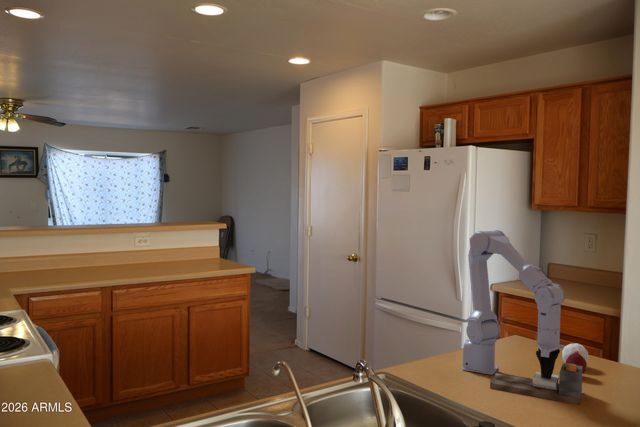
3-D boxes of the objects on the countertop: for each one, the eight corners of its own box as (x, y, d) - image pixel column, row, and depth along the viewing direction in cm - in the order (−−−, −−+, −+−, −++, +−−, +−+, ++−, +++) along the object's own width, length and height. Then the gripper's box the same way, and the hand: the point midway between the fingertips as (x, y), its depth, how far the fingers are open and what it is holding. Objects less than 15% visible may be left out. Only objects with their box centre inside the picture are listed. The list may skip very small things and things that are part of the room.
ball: (575, 377, 171) (569, 360, 167) (560, 361, 178) (554, 345, 175) (596, 366, 171) (591, 349, 167) (580, 350, 178) (574, 334, 174)
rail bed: (490, 387, 153) (490, 361, 153) (497, 377, 162) (497, 352, 161) (579, 404, 142) (580, 376, 141) (581, 392, 150) (582, 365, 150)
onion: (588, 380, 160) (589, 354, 160) (568, 378, 161) (568, 352, 161) (583, 374, 166) (584, 348, 166) (563, 372, 167) (564, 347, 167)
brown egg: (565, 379, 146) (565, 365, 146) (566, 376, 149) (566, 362, 149) (575, 380, 145) (576, 367, 145) (576, 378, 147) (576, 364, 147)
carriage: (532, 387, 149) (533, 364, 148) (536, 380, 155) (536, 358, 154) (555, 391, 146) (556, 368, 145) (558, 383, 152) (559, 361, 151)
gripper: (561, 335, 141) (560, 386, 142) (566, 324, 154) (565, 371, 154) (533, 332, 145) (531, 381, 145) (540, 321, 157) (539, 367, 158)
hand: (547, 376), depth 150 cm, fingers closed on carriage, 2 cm apart
